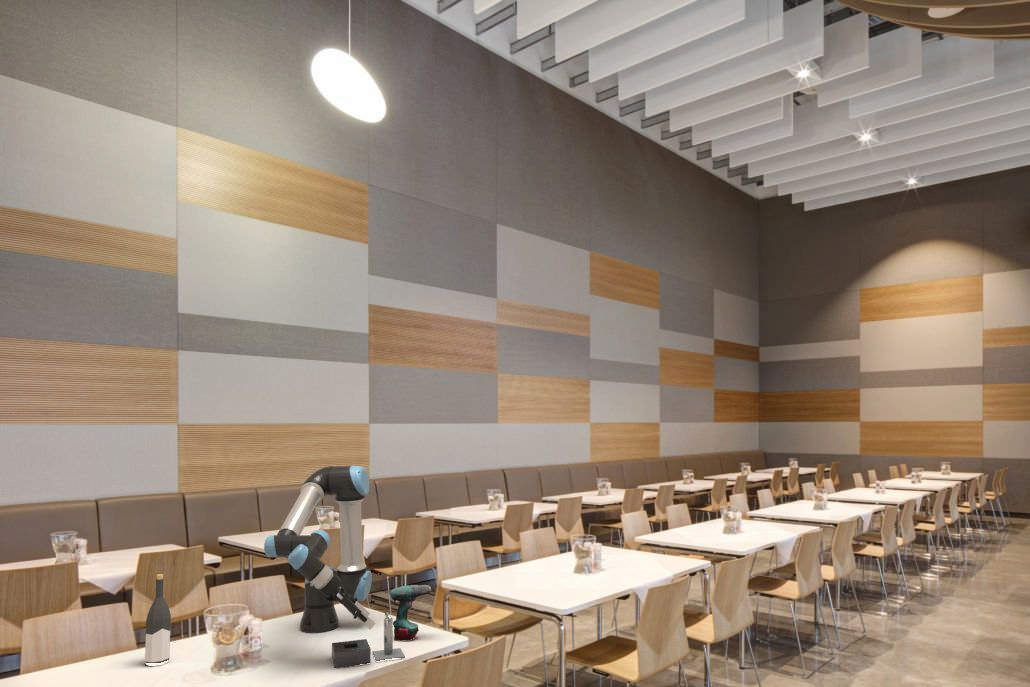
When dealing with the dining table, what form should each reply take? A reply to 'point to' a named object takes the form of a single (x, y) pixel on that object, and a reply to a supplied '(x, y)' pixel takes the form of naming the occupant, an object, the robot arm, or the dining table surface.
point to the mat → (380, 655)
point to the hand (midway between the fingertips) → (370, 621)
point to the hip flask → (388, 634)
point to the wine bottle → (158, 627)
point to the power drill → (406, 610)
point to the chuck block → (351, 653)
